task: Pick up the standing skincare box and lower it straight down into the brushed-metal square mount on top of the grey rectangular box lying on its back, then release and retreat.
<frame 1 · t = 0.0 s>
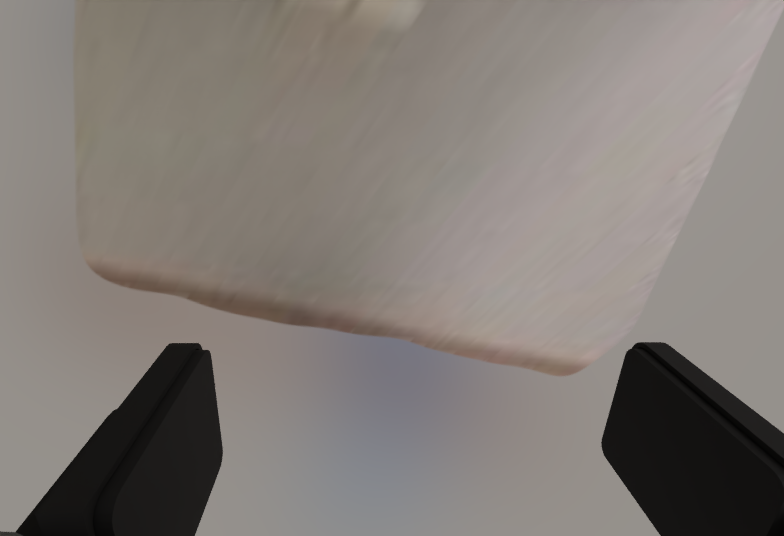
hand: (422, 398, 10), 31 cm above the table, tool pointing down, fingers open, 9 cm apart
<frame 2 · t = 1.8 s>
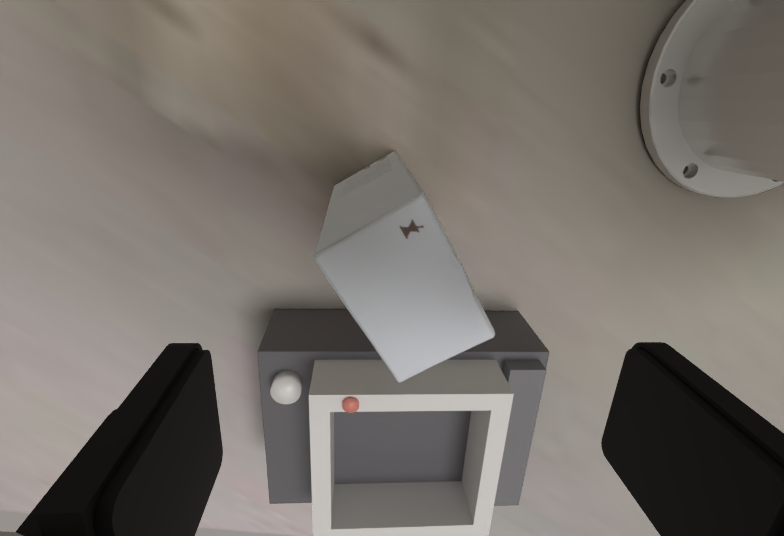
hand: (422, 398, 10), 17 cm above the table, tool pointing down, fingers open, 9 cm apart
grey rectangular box: (395, 380, 30), on the table
skincare box: (388, 211, 26), on the table
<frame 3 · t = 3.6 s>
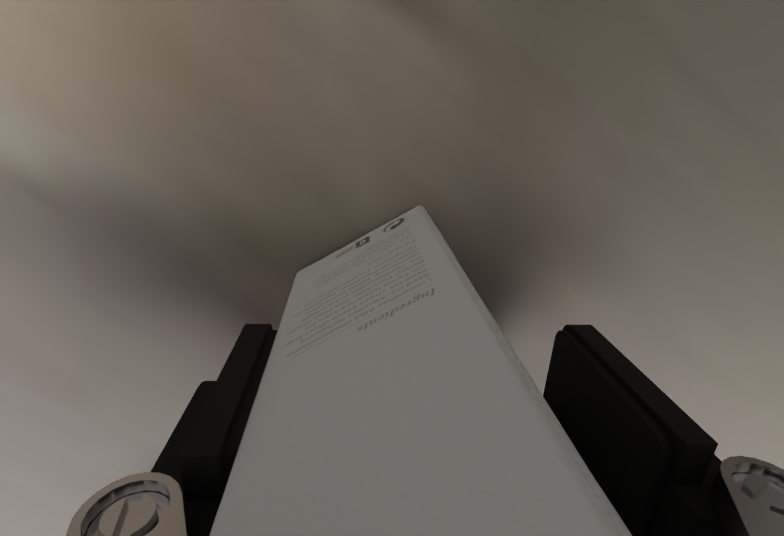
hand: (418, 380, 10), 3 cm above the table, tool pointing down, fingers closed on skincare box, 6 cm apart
skincare box: (404, 314, 13), on the table, touching gripper
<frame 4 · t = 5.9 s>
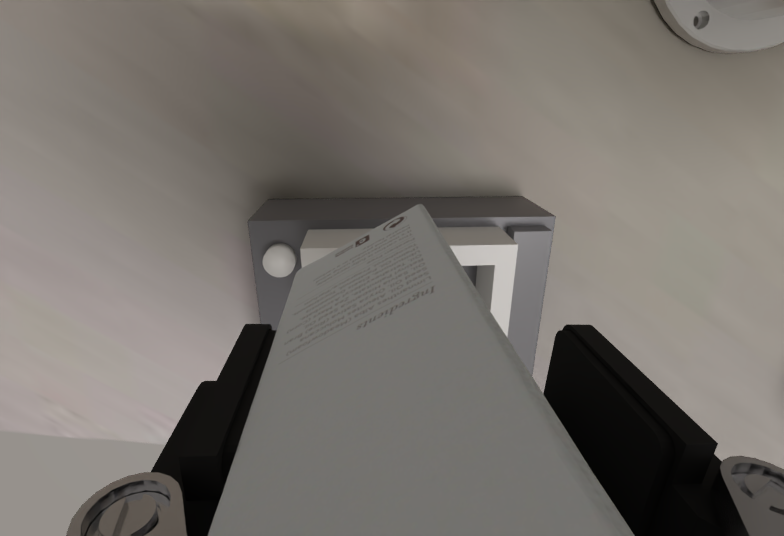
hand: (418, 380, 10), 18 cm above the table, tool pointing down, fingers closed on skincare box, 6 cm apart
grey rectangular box: (397, 278, 29), on the table
skincare box: (404, 313, 13), point 15 cm above the table, touching gripper
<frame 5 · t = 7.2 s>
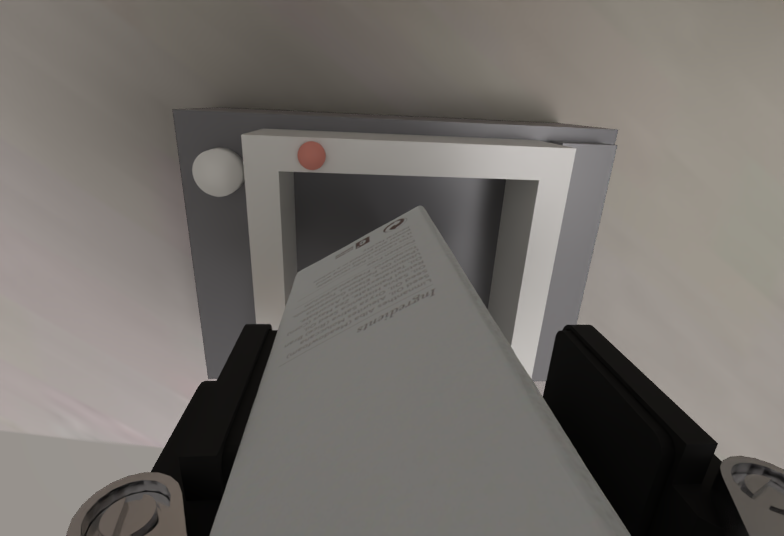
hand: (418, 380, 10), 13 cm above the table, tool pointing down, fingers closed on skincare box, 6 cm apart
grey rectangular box: (389, 229, 22), on the table
skincare box: (404, 315, 13), point 9 cm above the table, touching gripper
when the fingers open (10 cm above the table, at t = 8.2 s): skincare box drops 1 cm, resting on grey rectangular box.
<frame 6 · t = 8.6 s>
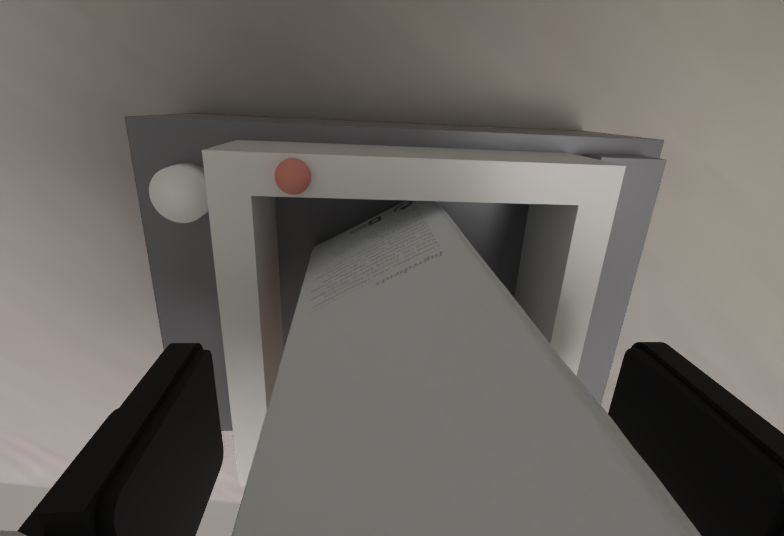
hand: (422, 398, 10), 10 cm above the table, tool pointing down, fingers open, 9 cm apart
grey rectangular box: (389, 251, 19), on the table
skincare box: (407, 291, 15), point 5 cm above the table, touching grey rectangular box
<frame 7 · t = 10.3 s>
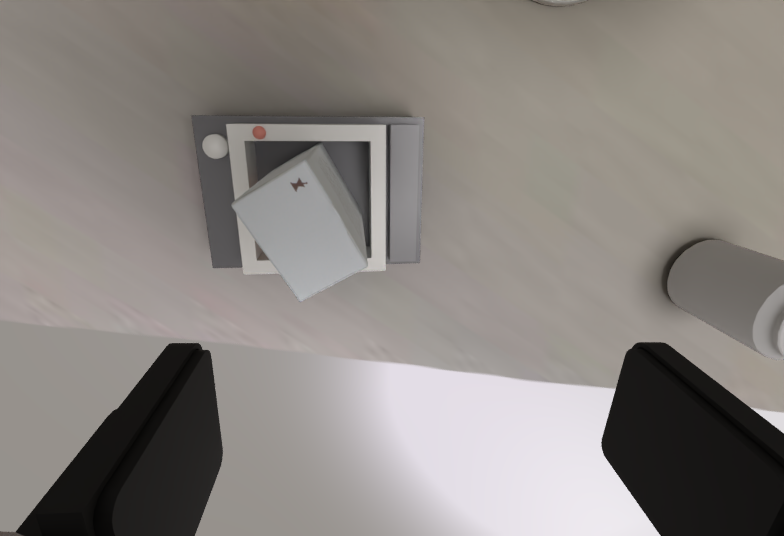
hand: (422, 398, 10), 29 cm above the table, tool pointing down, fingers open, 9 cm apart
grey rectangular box: (319, 185, 36), on the table
can: (695, 272, 43), on the table
skincare box: (318, 192, 32), point 5 cm above the table, touching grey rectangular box
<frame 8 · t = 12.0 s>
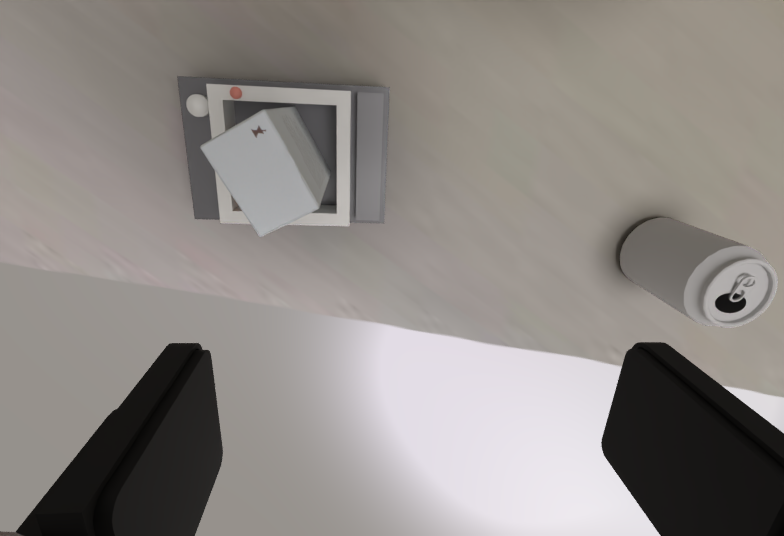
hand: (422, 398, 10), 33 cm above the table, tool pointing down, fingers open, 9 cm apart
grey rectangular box: (296, 149, 39), on the table
can: (647, 248, 46), on the table
skincare box: (292, 153, 35), point 5 cm above the table, touching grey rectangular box
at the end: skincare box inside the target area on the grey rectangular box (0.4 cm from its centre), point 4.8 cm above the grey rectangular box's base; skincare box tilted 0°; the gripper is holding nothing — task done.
